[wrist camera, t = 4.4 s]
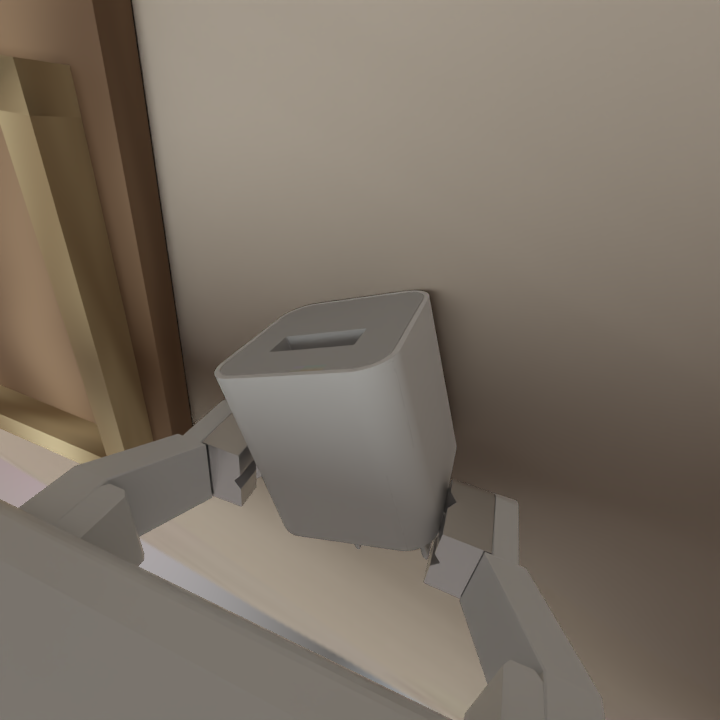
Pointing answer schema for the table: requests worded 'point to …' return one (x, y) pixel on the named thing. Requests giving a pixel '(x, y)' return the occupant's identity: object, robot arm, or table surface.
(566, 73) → the table surface
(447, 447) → the usb wall charger
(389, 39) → the table surface
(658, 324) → the table surface
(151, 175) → the picture frame
